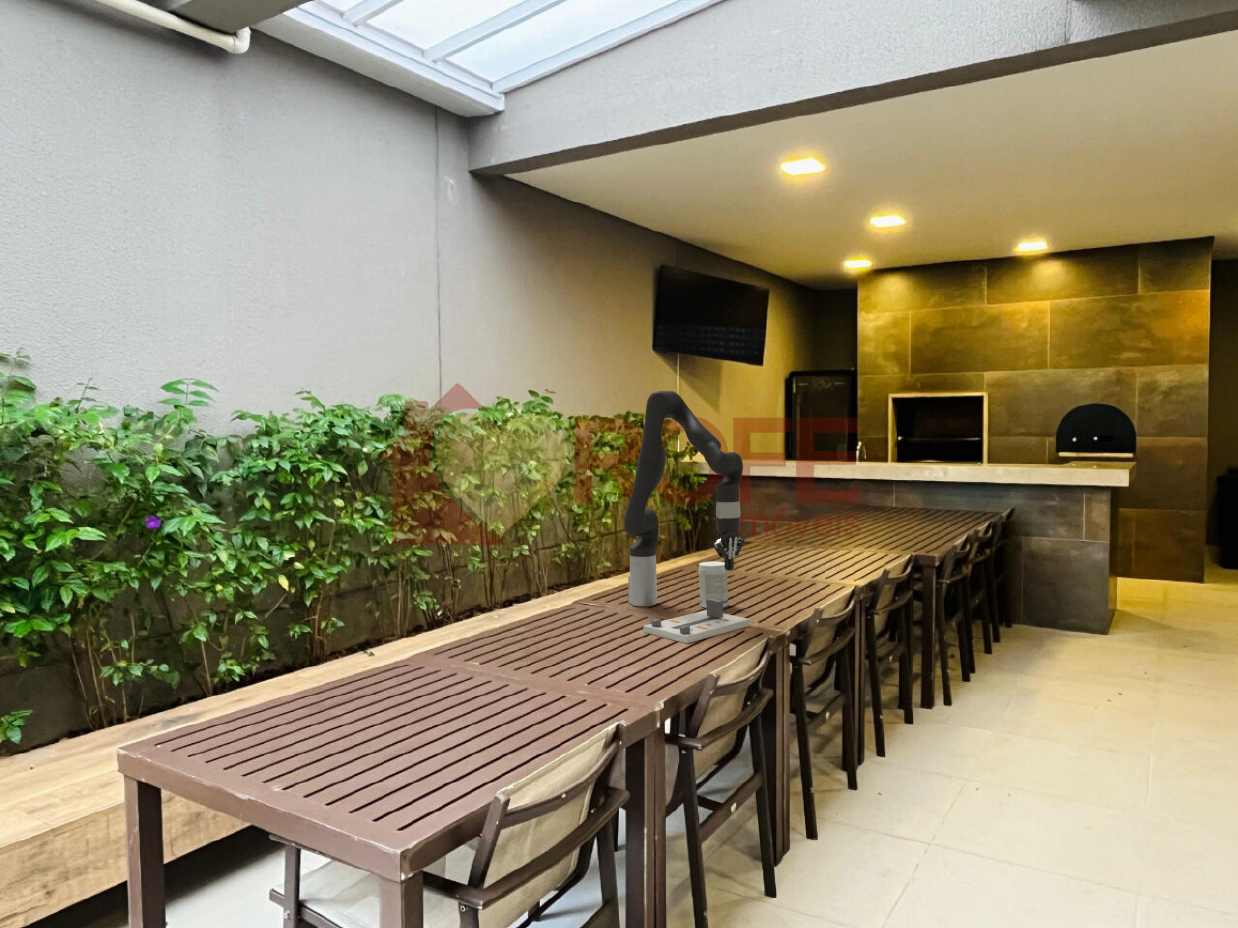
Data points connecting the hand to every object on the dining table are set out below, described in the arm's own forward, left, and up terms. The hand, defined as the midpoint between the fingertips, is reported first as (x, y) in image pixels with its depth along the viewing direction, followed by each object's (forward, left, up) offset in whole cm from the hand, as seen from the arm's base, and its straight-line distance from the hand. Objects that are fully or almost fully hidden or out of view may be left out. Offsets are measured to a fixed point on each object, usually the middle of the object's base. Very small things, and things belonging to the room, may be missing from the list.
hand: (729, 570), depth 260 cm
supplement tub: (-17, +11, -16) cm, 26 cm away
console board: (0, -15, -16) cm, 22 cm away
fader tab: (0, -7, -14) cm, 15 cm away
